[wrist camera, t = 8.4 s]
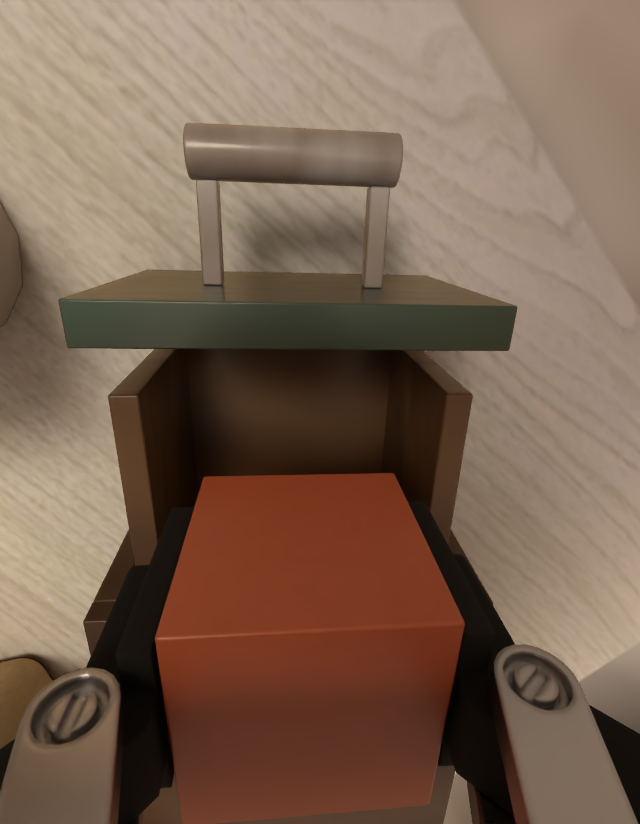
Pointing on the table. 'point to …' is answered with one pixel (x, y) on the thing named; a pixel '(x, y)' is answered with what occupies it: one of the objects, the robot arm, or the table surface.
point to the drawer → (285, 346)
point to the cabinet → (166, 818)
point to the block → (305, 650)
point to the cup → (8, 266)
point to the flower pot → (18, 693)
